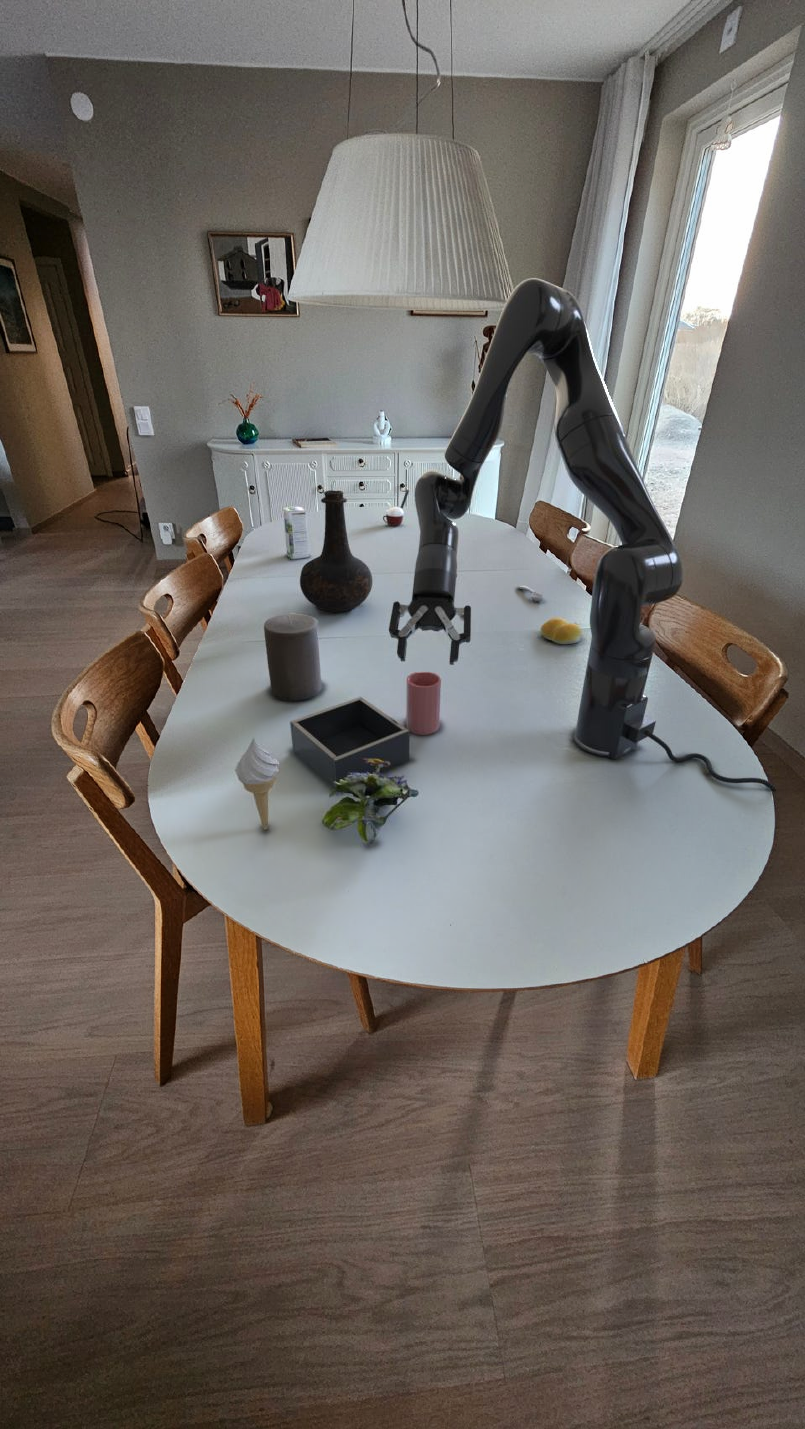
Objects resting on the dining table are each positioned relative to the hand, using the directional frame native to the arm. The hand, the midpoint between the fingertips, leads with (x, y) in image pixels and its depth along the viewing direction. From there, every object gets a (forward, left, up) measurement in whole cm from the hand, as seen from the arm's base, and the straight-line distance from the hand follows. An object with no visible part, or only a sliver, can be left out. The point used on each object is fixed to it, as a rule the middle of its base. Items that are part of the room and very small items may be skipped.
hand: (427, 661), depth 107 cm
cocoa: (+111, -76, -10) cm, 136 cm away
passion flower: (-20, +26, -10) cm, 34 cm away
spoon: (+30, -60, -10) cm, 69 cm away
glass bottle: (+54, -15, -10) cm, 58 cm away
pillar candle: (+21, +15, -10) cm, 28 cm away
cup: (-4, +4, -10) cm, 11 cm away
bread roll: (+7, -45, -10) cm, 47 cm away
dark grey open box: (-4, +19, -10) cm, 21 cm away
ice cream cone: (-12, +38, -10) cm, 41 cm away
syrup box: (+98, -28, -10) cm, 103 cm away
